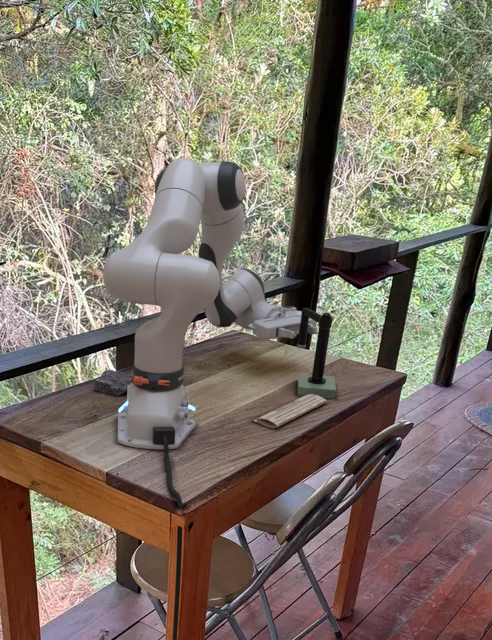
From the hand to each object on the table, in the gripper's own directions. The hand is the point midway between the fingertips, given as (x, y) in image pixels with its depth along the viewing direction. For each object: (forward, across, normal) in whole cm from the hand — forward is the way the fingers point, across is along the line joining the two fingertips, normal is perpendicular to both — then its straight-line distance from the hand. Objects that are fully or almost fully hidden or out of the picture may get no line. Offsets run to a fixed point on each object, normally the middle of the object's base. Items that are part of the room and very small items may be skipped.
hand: (305, 333), depth 205 cm
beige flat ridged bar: (+17, -20, +13) cm, 30 cm away
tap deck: (+9, -2, +13) cm, 16 cm away
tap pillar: (+9, -3, +10) cm, 14 cm away
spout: (+4, -1, +4) cm, 6 cm away
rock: (-20, -49, +13) cm, 55 cm away
